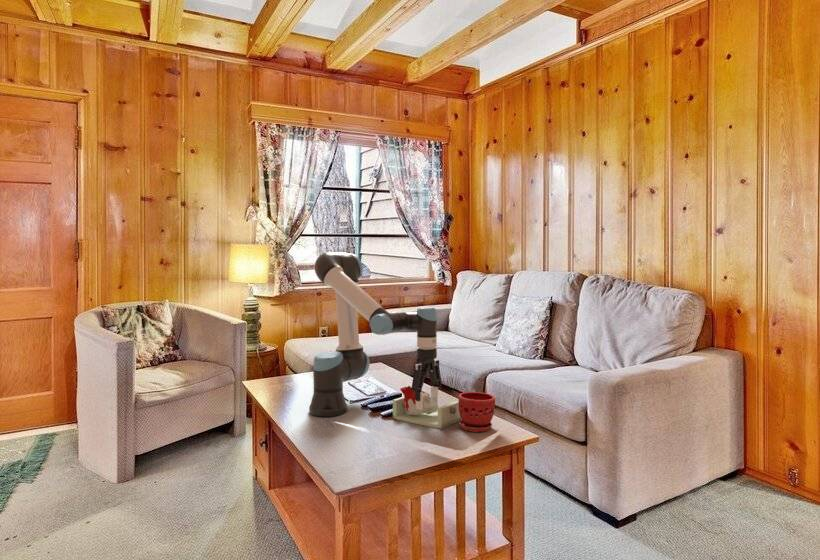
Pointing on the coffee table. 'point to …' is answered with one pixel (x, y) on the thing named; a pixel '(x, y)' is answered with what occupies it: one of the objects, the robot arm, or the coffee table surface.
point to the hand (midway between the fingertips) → (426, 406)
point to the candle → (410, 402)
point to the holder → (428, 415)
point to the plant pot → (476, 411)
